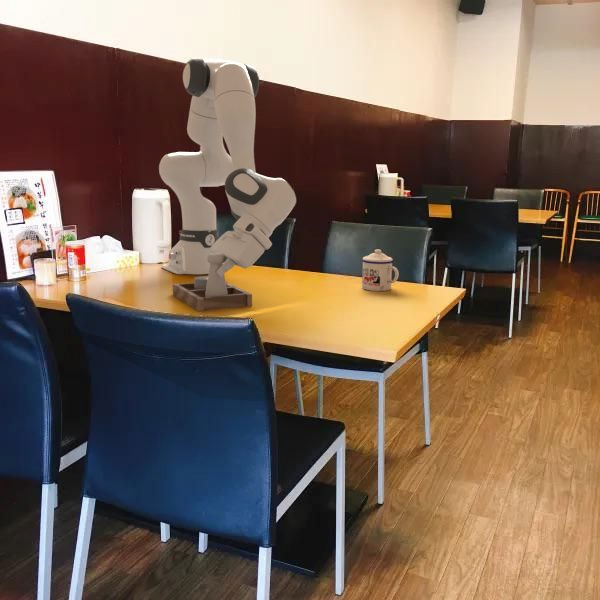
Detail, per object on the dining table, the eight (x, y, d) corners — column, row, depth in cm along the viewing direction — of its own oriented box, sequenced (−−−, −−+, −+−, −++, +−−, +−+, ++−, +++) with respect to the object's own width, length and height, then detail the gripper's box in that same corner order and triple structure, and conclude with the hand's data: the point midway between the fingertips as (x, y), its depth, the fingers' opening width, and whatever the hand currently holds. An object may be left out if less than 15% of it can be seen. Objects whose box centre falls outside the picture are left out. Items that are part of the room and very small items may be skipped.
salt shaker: (223, 307, 155) (222, 255, 152) (201, 305, 156) (200, 254, 153) (231, 302, 161) (230, 252, 158) (210, 300, 162) (209, 251, 159)
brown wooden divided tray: (173, 298, 168) (172, 283, 167) (221, 293, 175) (221, 279, 174) (199, 315, 151) (198, 299, 150) (252, 309, 157) (252, 294, 156)
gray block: (190, 296, 167) (189, 278, 165) (207, 293, 170) (207, 275, 169) (202, 299, 163) (202, 281, 162) (219, 296, 166) (219, 278, 165)
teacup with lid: (354, 288, 185) (356, 249, 183) (373, 284, 192) (374, 246, 189) (387, 294, 177) (389, 254, 175) (405, 290, 184) (408, 251, 181)
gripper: (226, 220, 166) (192, 259, 164) (258, 228, 149) (221, 271, 146) (241, 236, 169) (208, 274, 167) (275, 245, 152) (238, 288, 149)
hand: (214, 273), depth 156 cm, fingers closed on salt shaker, 3 cm apart
